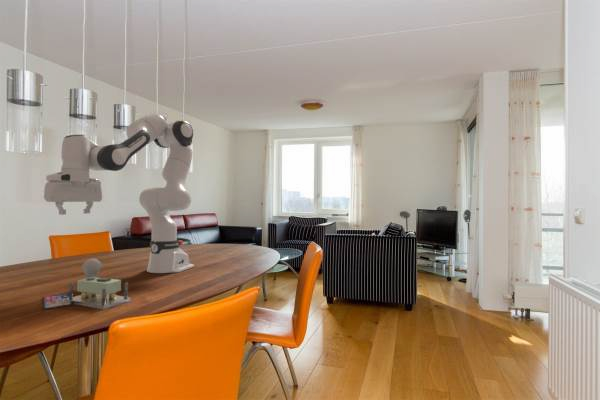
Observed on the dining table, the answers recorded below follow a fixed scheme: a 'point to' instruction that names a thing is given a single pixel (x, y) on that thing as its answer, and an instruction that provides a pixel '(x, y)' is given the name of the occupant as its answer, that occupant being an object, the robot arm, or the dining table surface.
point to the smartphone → (56, 302)
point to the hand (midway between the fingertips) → (75, 214)
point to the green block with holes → (98, 285)
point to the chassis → (98, 298)
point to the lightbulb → (91, 267)
